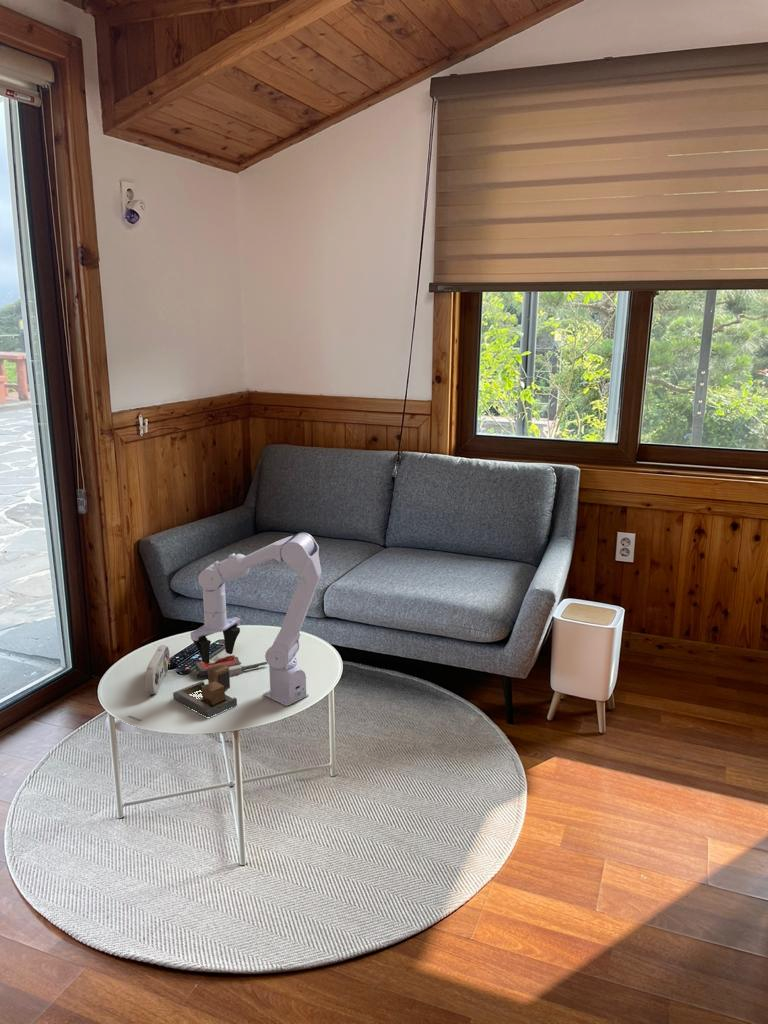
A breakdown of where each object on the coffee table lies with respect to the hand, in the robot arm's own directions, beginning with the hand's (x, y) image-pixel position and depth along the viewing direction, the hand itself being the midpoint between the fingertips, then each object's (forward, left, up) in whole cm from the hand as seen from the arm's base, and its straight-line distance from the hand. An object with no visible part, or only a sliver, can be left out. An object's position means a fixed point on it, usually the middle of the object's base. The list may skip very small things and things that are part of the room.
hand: (217, 657), depth 206 cm
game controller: (+15, +9, -9) cm, 20 cm away
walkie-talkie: (+7, -9, -10) cm, 15 cm away
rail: (-4, +7, -9) cm, 12 cm away
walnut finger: (0, 0, -9) cm, 9 cm away
